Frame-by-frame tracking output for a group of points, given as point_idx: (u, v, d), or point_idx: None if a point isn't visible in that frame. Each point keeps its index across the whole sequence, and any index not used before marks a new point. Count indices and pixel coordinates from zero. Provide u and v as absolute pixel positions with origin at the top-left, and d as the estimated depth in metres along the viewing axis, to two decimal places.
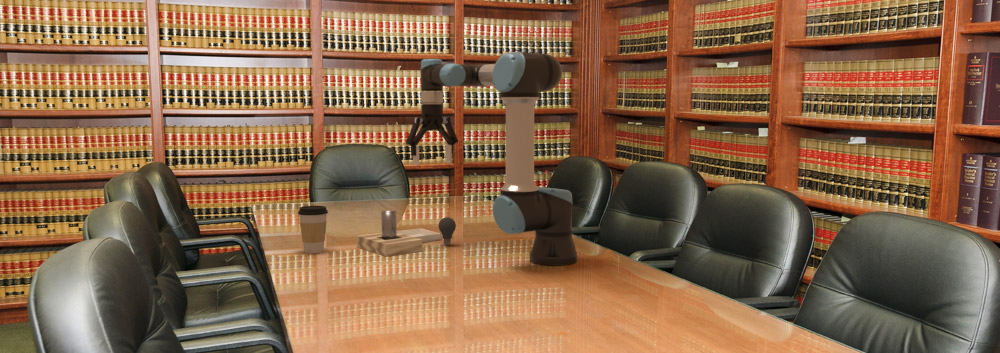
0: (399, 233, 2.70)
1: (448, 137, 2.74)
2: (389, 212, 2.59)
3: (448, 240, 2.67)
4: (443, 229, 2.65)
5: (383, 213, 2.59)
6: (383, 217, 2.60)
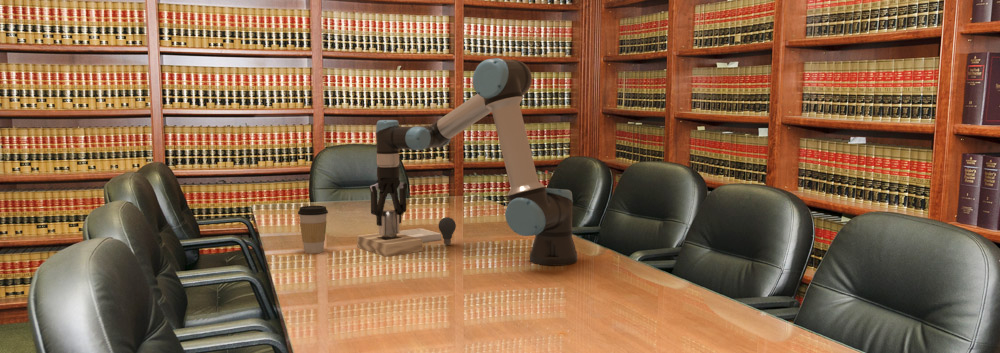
0: (399, 233, 2.70)
1: (398, 205, 2.62)
2: (389, 212, 2.59)
3: (448, 240, 2.67)
4: (443, 229, 2.65)
5: (383, 213, 2.59)
6: None
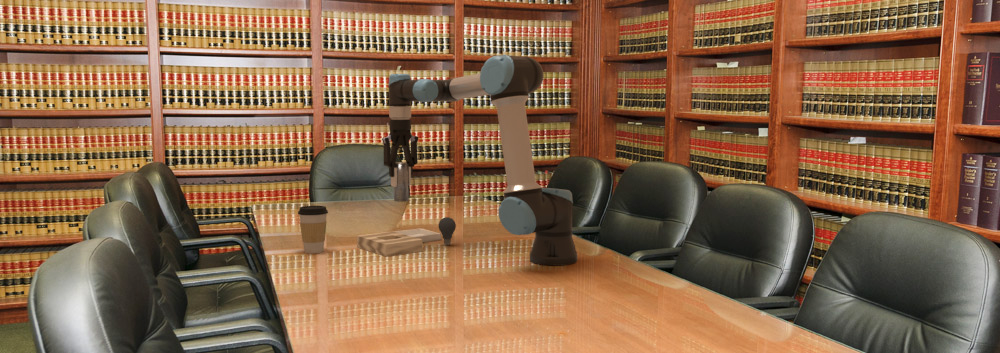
0: (399, 233, 2.70)
1: (410, 157, 2.69)
2: (401, 164, 2.66)
3: (448, 240, 2.67)
4: (443, 229, 2.65)
5: (395, 165, 2.66)
6: None
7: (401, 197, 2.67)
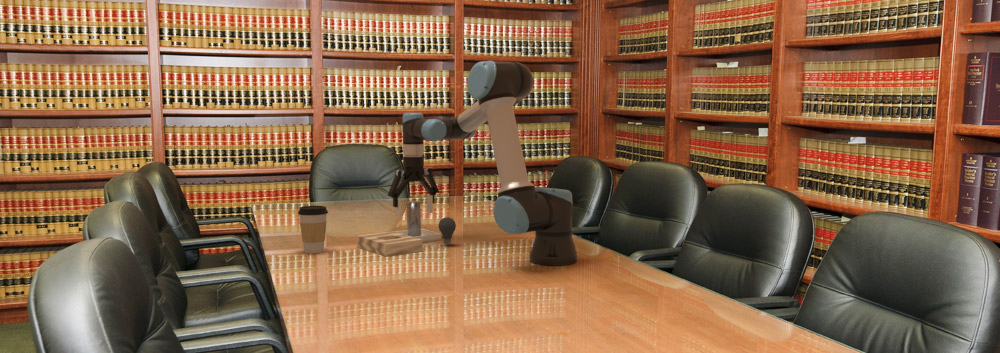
0: (399, 233, 2.70)
1: (429, 188, 2.81)
2: (414, 203, 2.77)
3: (448, 240, 2.67)
4: (443, 229, 2.65)
5: (408, 204, 2.77)
6: (408, 208, 2.77)
7: (414, 235, 2.78)
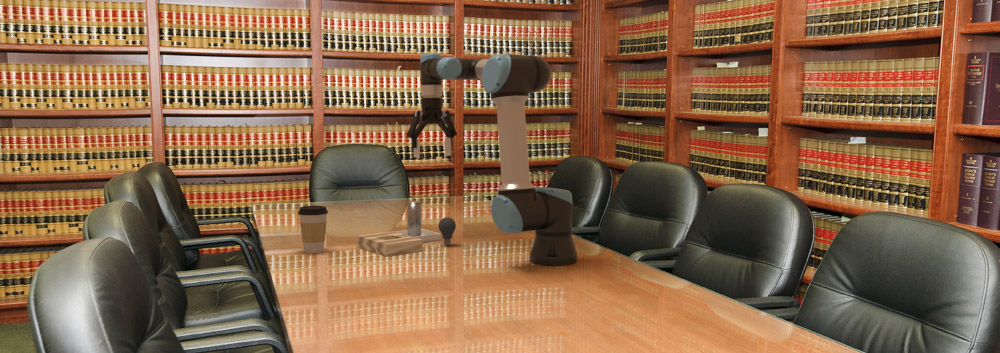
0: (399, 233, 2.70)
1: (447, 130, 2.80)
2: (414, 203, 2.76)
3: (448, 240, 2.67)
4: (443, 229, 2.65)
5: (409, 204, 2.77)
6: (409, 208, 2.77)
7: (414, 235, 2.78)
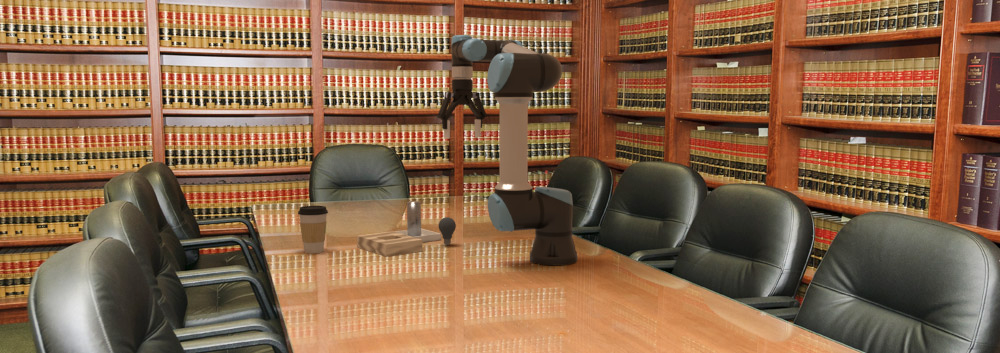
0: (399, 233, 2.70)
1: (477, 112, 2.81)
2: (414, 203, 2.77)
3: (448, 240, 2.67)
4: (443, 229, 2.65)
5: (408, 204, 2.77)
6: (408, 208, 2.77)
7: (414, 235, 2.78)
